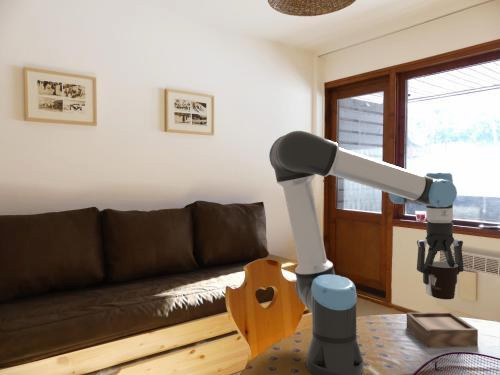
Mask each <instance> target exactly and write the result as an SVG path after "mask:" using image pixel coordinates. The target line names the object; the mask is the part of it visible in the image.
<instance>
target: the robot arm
mask: <svg viewBox="0 0 500 375" xmlns="http://www.w3.org/2000/svg"><path fill="white" fill-rule="evenodd" d="M268 158H269V163H270V165H271V167H272V168H273V169H274V174H275V178H276V183H277V184H278V185H279V186H281V187H282V188H283V192H284V199H285V202H286V207H287V213H288V217H289V224H290V228H291V232H292V233H291V234H292V237H293V243H294V248H295V253H296V258H297V263H298V264H297V266H296V267H295V268H294V273H295V278H296V280H295V292H296V294H297V297H298V299H299V300H300V302H301V303H302V304H303V305H304V306H305V307H306V308H307V309H308V310H309V312H310V313H311V320H312V321H311V323H312V324H311V326H312V327H311V328H312V331H311V332H312V333H311V335H312V336H311V340H310V342H309V346H308V349H307V352H306V357H305V362H306V364H305V366H306V368H307V369H308V370H309V372H311V373H312V374H313V375H362V374H363V373H364V369H365V368H364V366H365V365H364V362H365V361H364V358H363V355H362V352H361V350H360V346H359V343H358V340H357V300H358V294H357V289H356V285H355V283H354V282H353V281H352V280H350V279H349V278H348V277H345V276H341V275H337V274H336V273H335V269H334V264H333V262H332V261H330V260H329V259H328V258H327V255H326V254H327V253H326V248H325V245H324V244H325V243H324V239H323V235H322V234H323V233H322V229H321V228H322V227H321V224H320V219H319V213H318V208H317V204H316V199H315V194H314V189H313V188H314V187H313V184H312V181H313V180H314V178H315V177H316V175H319V176H322V177H328V176H329V175H330V176H333V177H337V178H341V179H343V180H347V181H350V182H354V183H357V184H360V185H363V186H365V187H369V188H373V189H376V190H379V191H381V192H385V193H388V198H389V200H390V201H391V202H392V204H396V205H397V204H399V205H405V204H408V205H409V204H410V205H419V206H425V207H426V208H425V209H426V211H425V212H426V216H425V218H426V222H425V223H426V236H425V239H422V240H420V239H418V240H417V241H416V244H417V247H418V248H417V260H416V270H417V272H420V273H421V274H422V283H423V284H425V294H427V295H428V296H429V297H430V296H431V297H433V296H432V291H431V282H430V276H429V267H428V264H429V265H432V264H433V262H434V261H435V257H436V255H438V252H441V251H442V252H443V255H444V257H445V260H446V262H447V263H448V264H449V266H450V267H454V265H455V264H457V265H458V271H457V276H459V274H460V273H461V272H462V273H463V272H464V270H465V269H464V258H463V244H464V241H463V240H461V239H458V238H457V239H456V238H454V236H453V234H454V223H453V222H452V221H454V216H453V215H454V202H456V199H457V195H458V191H457V187H456V185H455V184H454V182H453V181H454V179H453V175H452V173H451V172H428V173H426V174H425V175H424V174H420V173H417V172H415V171H412V170H409V169H405V168H402V167H400V166H396V165H395V164H390V163H387V162H385V161H382V160H378V159H375V158H372V157H369V156H366V155H363V154H360V153H356V152H354V151H350V150H347V149H345V148H342V147H339V144H338V143H337V142H335V141H332V140H331V139H330V140H329V139H328V138H324V137H322V136H319V135H316V134H313V133H311V132H307V131H303V130H295V131H291V132H288V133H286V134H285V135H282V136H280V137H278V138H277V139H276V140H274V142H273V144H272V145H271V147H270V149H269V155H268ZM427 245H428V250H427V254H426V247H427ZM452 245H453V252H454V253H453V252H452V249H451V247H452ZM452 253H453V254H452ZM453 255H454V257H453ZM457 283H458V278H457V279H456V285H457Z"/></svg>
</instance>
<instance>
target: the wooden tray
mask: <svg viewBox="0 0 500 375" xmlns="http://www.w3.org/2000/svg"><path fill="white" fill-rule="evenodd" d="M406 329H408V330H409V332H411V333H412V334H413V335H414V336H415V337H416V338H417V339H418V340H419V341H420V342H421V343H422V344H424V345H425V346H426V347H427V348H454V347H456V348H457V347H459V348H460V347H464V348H465V347H468V348H469V347H479V346H478V345H479V343H478V342H479V340H478V339H479V336H478V335H479V333H478V332H479V330H478V329H477V328H475V327H474V326H472V325H471V324H470V323H468V322H467V321H465V320H464V319H463V318H461V317H459V316H458V315H456V314H455V313H453V312H451V311H440V312H439V311H433V312H429V311H428V312H406Z"/></svg>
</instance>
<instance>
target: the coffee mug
mask: <svg viewBox="0 0 500 375" xmlns="http://www.w3.org/2000/svg"><path fill="white" fill-rule="evenodd" d="M428 267H429V276H430V282H431V291H432V296H431V297H432V298H435V299H440V300H454V299H455V295H456V294H455V293H456V288H457V286H456V285H457V284H456V279H457V280H458V275H457V271H458V265H457V264H455V265H454V267H450V266H449V264H448V263H447V261H442V260H441V261H439V260H437V261H435V260H434V261H433V264H432V265H429V264H428Z"/></svg>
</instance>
